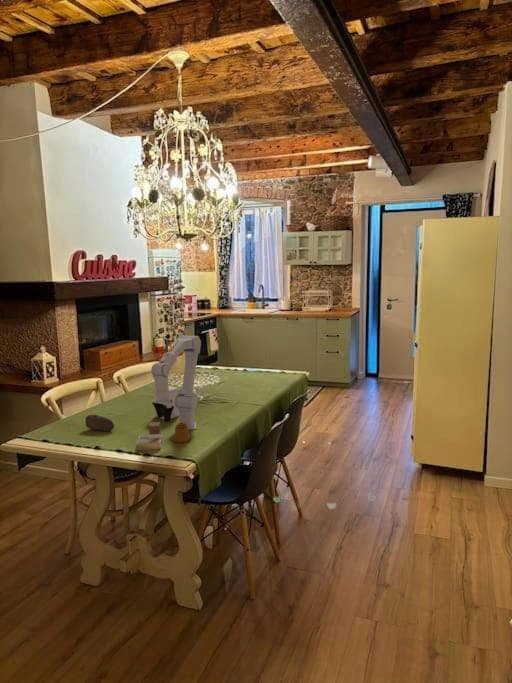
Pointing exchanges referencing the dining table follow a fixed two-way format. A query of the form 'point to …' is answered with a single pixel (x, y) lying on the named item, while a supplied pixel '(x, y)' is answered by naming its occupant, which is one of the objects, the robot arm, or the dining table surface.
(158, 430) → the walnut block
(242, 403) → the dining table surface
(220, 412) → the dining table surface
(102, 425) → the perforated stone tool
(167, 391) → the robot arm
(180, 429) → the ornamental finial
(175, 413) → the supplement box
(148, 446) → the wooden framed grey panel
